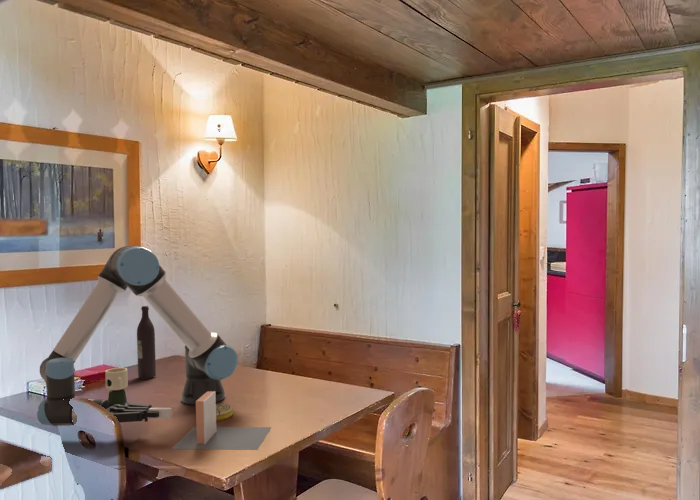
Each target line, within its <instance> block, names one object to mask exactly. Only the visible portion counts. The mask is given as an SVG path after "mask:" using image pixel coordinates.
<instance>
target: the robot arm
mask: <svg viewBox="0 0 700 500" xmlns="http://www.w3.org/2000/svg"><path fill="white" fill-rule="evenodd" d="M166 274H167V273H166V270H164V268H163V267H162V266H161V265H160V261H159V259H158V257H157V255H156V254H155V253H154V252H153V251H152V250H150V249H149V248H146V247H144V246H140V245H133V246H129V245H128V246H122V247H119V248H117V249H116V250H114V251H113V252H112V254H111V255H110V256H109V258H108V260H107V261H106V263H105V265H104V266H103V268H102V270H101V271H100V273H98V276H97V279H98V282H96V284H95V286H94V288H93V290H91V292H90V294H89V295H88V297H87V298H86V300H85V301H84V303H83V304H82V306H81V308H80V309H79V310H78V312H76V313H77V314H76V315H75V317H73V319H72V321H71V323H70V324H69V325H68V327H67V328H66V330H65V332H63V335H62V336H61V337H60V339H59V340H58V342H57V343H56V345H55V347H54V348H53V350H52V351H51V353H50V354H49V356H47V357H46V358H45V359H43V361H42V362H41V363H40V365H39V374H40V377H41V379H42V380H43V381H44V382H45V385H46V386H45V387H46V388H45V389H46V398H45V399H44V400H43V399H42V401H41V402H40V403H39V405H38V407H37V408H38V410H37V412H36V418H37V421H38V422H39V423H40V424H41V425H44V426H51V427H65V426H67V427H68V426H69V427H71V425H74V424H76V422H77V415H76V414H75V412H74V409H73V407H72V406H71V405H70V404H69V401H70V399H72V398H75V399H76V391H75V389H76V386H75V383H76V382H75V381H76V380H75V379H76V378H75V371H76V369H75V363H76V361H77V360H78V358H79V356H80V354H82V352H83V350H84V349H85V347H86V346H87V345H88V342H89V341H90V339H91V338H92V336H93V335H94V333H95V332H96V330H97V329H98V327H99V326H100V324H101V323H102V321H103V320H104V318H105V317H106V315H107V313H108V312H109V310H110V309H111V307H112V306H113V304H114V303H115V301H116V300H117V298H118V296H120V294H121V293H124V292H126V290H127V288H129V291H131V292H132V293H133V295H135V296H136V297H143V298H144V299H145V300H146V301H147V303H148V304H149V305H150V306H151V307H152V308H153V310H154V311H156V313H157V314H158V315H159V317H161V318H162V320H163V321H164V322H165V323H166V324H167V326H168V327H169V328H170V329H171V330H172V331H173V333H175V335H176V336H177V337H178V338H179V339H180V340H181V341H182V343H183V344H185V345H184V349H185V351H184V354H185V382H184V386H183V389H182V392H181V402H182V403H183V404H187V405H194V406H196V401H197V400H198V399H199V398H200V397H201V396H202V395H204V394H205V393H206V392H207V391H215V393H216V403H218V402H221V401H222V400H224V399H225V398H226V396H225V395H226V391H225V389H224V386H223V383H222V380H225V379H227V378H229V377H231V376H232V375H233V374H234V372H235V371H236V369H237V367H238V362H239V357H238V353H237V351H236V350H235V349H234V348H233V347H232V346H230V345H227V343H226V342H225V341H224V340H223V339H222V337H221V336H220V335H219V334H218V333H217V332H213V331H210V330H208V328H207V327H206V325H204V323H203V322H202V321H201V320H200V319H199V317H197V315H196V313H194V311H193V310H192V309H191V308H190V307H189V306H188V304H187V303H186V302H185V301H184V300H183V298H182V297H181V296H180V295H179V294H178V293H177V291H176V290H175V289H174V288H173V287H172V286H171V284H170V283H169V282H168V280H166ZM63 399H64V400H63ZM87 399H88V400H91V401H93V402H95V403H97V404H99V405H101V406H102V407H104V408H105V409H107V410H108V411H109V412H110V413H112V414H113V415H114V416H116V417H117V419H118V421H119V423H132V422H143V420H144V422H145V423H146V422H148V419H153V420H155V419H161V420H162V419H163V420H164V419H166V420H167V419H169V420H170V419H172V418H173V407H153V406H152V404H143V403H142V404H141V403H131V402H128V401H127V402H126V403H125V405H120V404H115V405H114V406H112V405H111V404H110V402H109V401H108V399H98V398H97V399H93V398H92V399H90V398H87ZM72 409H73V411H72ZM72 420H73V422H72Z"/></svg>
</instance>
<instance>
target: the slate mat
mask: <svg viewBox="0 0 700 500" xmlns="http://www.w3.org/2000/svg"><path fill="white" fill-rule="evenodd" d="M271 429H272V426H269V427H268V426H216V430H217V431H216V433H215V434H214V435H213V436H212V437H211V438H210V439H209V440H208V442H207V443H206V444H197V431H196V426H193V427H192V428H191V429H190V430H189V431H188V432H187V433H186V434H185V435H184V436H183V437H182V438H181V439H180V440H179V441H178V442H177V443H175V445H174V446H173V447H172V448H171V450H223V451H224V450H237V451H239V450H240V451H241V450H242V451H247V450H249V451H253V450H254V451H257V450H258V451H259V448H260V447H261V445H262V443H263V442H264V440H265V439H266V437H267V435H268V434H269V432H270V431H271Z"/></svg>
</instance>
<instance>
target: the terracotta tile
mask: <svg viewBox="0 0 700 500" xmlns="http://www.w3.org/2000/svg"><path fill="white" fill-rule="evenodd" d="M216 403H217V402H216V393H215V391H207V392H206V393H205V394H204V395H202V396H201V397H200V398H199V399H198V400H197V401H196V405H195V418H196V419H195V422H196V426H195V427H196V431H197V444H206V443H207V442H208V440H209V439H210V438H211V437H212V436H213V435H214V434H215V433H216V431H217V430H216V427H217V421H216Z"/></svg>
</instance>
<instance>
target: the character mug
mask: <svg viewBox="0 0 700 500" xmlns="http://www.w3.org/2000/svg"><path fill="white" fill-rule="evenodd" d="M104 373H105V389H106V390H108V391H109V392H108V398H107V400H108V401H109V402H110V404H111V405H112V406H114V405H115V404H120V405H125V403H126V402H128V399H127V398H128V397H127V395H126V394H127V393H126V390H125V389H127V388H128V386H129V385H128V384H129V383H128V368H126V367H115V368H110V369H106V370H105V371H104Z"/></svg>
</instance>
